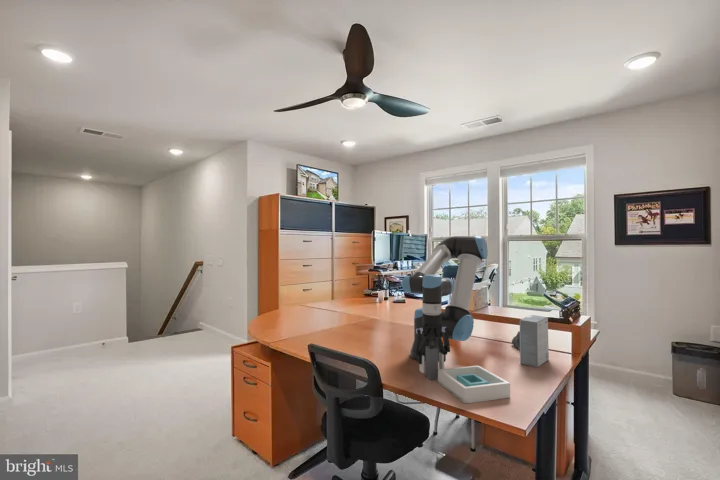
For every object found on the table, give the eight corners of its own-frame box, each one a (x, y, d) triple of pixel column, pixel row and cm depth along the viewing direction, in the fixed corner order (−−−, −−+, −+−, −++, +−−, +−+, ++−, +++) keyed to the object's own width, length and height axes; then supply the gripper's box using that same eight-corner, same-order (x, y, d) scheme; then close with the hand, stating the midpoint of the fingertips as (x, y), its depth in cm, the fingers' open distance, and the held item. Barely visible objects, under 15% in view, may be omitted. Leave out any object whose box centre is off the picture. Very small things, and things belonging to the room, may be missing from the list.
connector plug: (425, 376, 135) (425, 338, 136) (432, 375, 136) (432, 338, 137) (430, 380, 131) (430, 341, 131) (438, 379, 132) (438, 341, 132)
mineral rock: (511, 344, 183) (511, 325, 183) (533, 346, 178) (533, 327, 178) (511, 350, 171) (511, 330, 171) (535, 353, 166) (535, 333, 167)
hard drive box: (531, 356, 162) (531, 314, 163) (549, 359, 157) (548, 317, 157) (519, 363, 151) (519, 319, 152) (537, 368, 146) (537, 321, 146)
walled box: (437, 382, 129) (437, 369, 129) (478, 378, 134) (478, 365, 134) (464, 403, 112) (464, 388, 112) (510, 397, 116) (510, 383, 117)
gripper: (412, 316, 128) (411, 376, 127) (460, 314, 133) (459, 371, 133) (404, 312, 135) (403, 369, 135) (449, 310, 141) (449, 365, 140)
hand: (431, 370), depth 134 cm, fingers open, 8 cm apart
